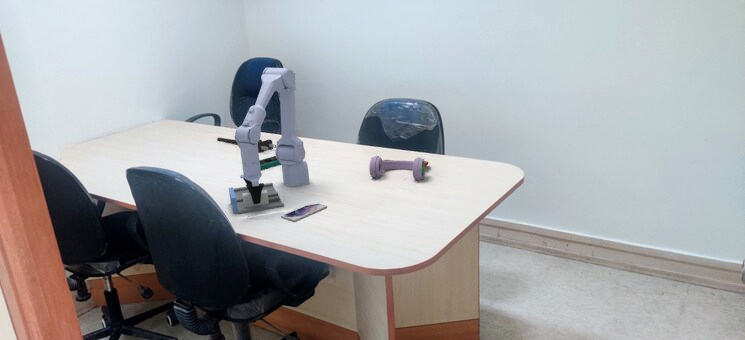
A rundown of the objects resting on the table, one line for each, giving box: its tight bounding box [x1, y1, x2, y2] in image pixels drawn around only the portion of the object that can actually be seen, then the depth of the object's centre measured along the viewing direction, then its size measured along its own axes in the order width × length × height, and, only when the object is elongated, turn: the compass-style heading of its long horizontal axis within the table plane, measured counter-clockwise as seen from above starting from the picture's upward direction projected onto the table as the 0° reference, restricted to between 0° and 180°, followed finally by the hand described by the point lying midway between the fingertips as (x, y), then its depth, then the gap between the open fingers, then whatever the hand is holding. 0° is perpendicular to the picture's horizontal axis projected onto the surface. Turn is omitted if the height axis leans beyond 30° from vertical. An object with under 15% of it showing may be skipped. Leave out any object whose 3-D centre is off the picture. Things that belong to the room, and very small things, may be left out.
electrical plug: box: [216, 136, 277, 154], centre depth 261 cm, size 9×42×5 cm, turn 50°
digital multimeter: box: [259, 155, 282, 171], centre depth 229 cm, size 7×15×3 cm, turn 134°
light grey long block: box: [243, 190, 281, 208], centre depth 185 cm, size 12×3×4 cm, turn 109°
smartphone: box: [280, 203, 328, 223], centre depth 179 cm, size 7×1×15 cm
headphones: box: [369, 155, 430, 181], centre depth 211 cm, size 20×10×20 cm
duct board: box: [228, 182, 285, 215], centre depth 190 cm, size 16×24×6 cm
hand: (255, 199), depth 185 cm, fingers open, 7 cm apart
